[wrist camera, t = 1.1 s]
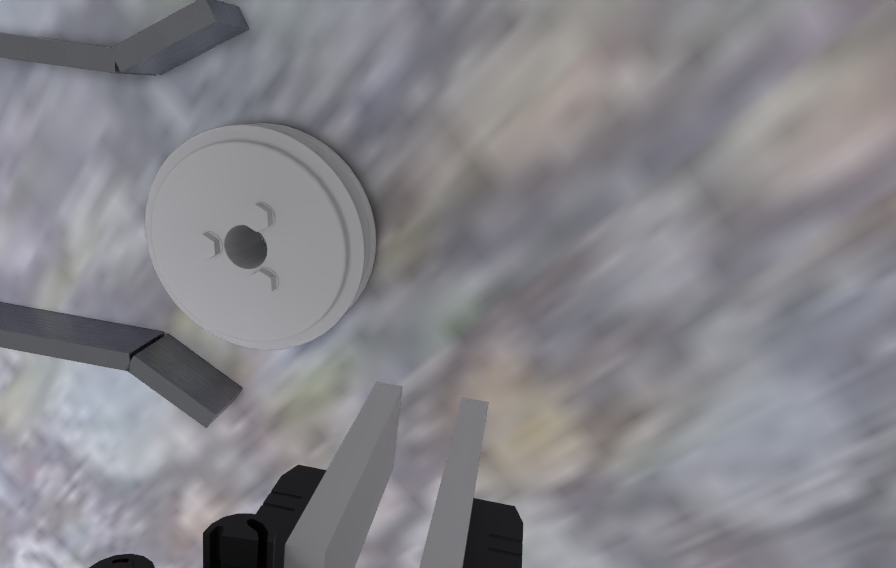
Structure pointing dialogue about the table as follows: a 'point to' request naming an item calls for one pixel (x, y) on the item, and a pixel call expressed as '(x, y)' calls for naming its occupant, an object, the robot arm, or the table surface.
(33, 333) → the steel bracket
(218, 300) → the grey pulley wheel
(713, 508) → the table surface
